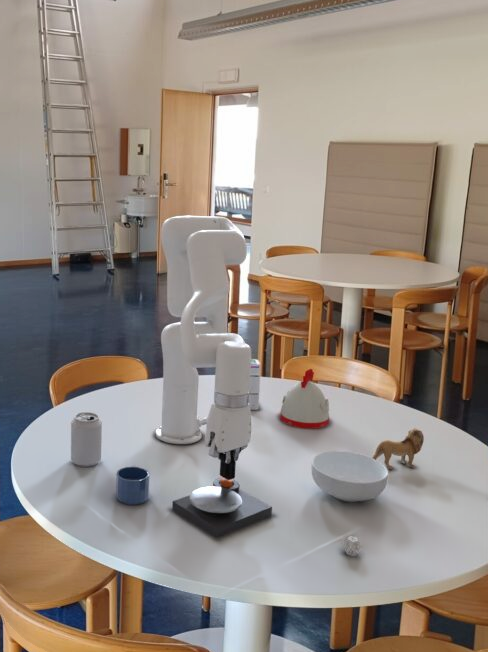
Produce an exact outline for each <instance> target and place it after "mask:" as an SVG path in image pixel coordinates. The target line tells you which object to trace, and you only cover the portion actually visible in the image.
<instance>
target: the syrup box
mask: <svg viewBox="0 0 488 652" xmlns="http://www.w3.org/2000/svg"><path fill="white" fill-rule="evenodd" d="M260 389H261V362H260V360H259V359H257V358H251V371H250V388H249V390H250V395H249V404H250V411H253V410H254V411H258V410H259V407H260V406H259V405H260V404H259V403H260V391H261V390H260Z"/></svg>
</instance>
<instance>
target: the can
mask: <svg viewBox="0 0 488 652" xmlns="http://www.w3.org/2000/svg"><path fill="white" fill-rule="evenodd" d="M102 430H103V421H102V420H101V419H100V415H99V414H97V413H95V412H91V411H90V412H89V411H84V412H78V413H75V414H74V416H73V419H72V420H71V422H70V460H71V462H73V463H74V465H76V466H78V467H93V466H96V465H97V464H98V463H99V462H101V460H102V440H103V439H102V433H103V431H102Z"/></svg>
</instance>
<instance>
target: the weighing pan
mask: <svg viewBox="0 0 488 652" xmlns="http://www.w3.org/2000/svg"><path fill="white" fill-rule="evenodd" d="M189 495H190V502H191V503H192V504H193V505H194V506H195V507H196V508H198V509H201V510H203V511H207V512H212V513H227V512H232V511H235V510H237V509H238V508H239V507H240V506H241V504H242V499H241V497H240V495H239V494H237V493H236V492H234V491H232V490H230V489H227V488H222V487H213V486H203V487H200V488H196V489H194V490H192V492H190V494H189Z"/></svg>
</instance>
